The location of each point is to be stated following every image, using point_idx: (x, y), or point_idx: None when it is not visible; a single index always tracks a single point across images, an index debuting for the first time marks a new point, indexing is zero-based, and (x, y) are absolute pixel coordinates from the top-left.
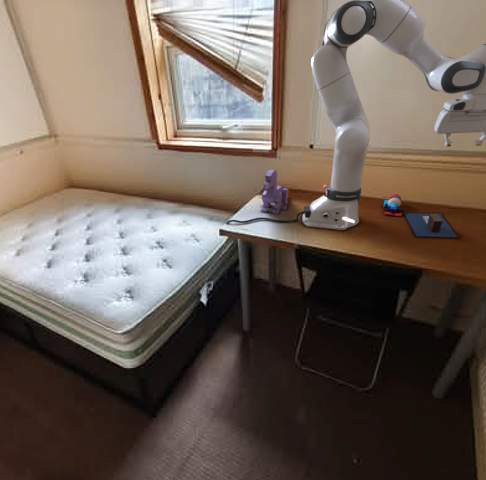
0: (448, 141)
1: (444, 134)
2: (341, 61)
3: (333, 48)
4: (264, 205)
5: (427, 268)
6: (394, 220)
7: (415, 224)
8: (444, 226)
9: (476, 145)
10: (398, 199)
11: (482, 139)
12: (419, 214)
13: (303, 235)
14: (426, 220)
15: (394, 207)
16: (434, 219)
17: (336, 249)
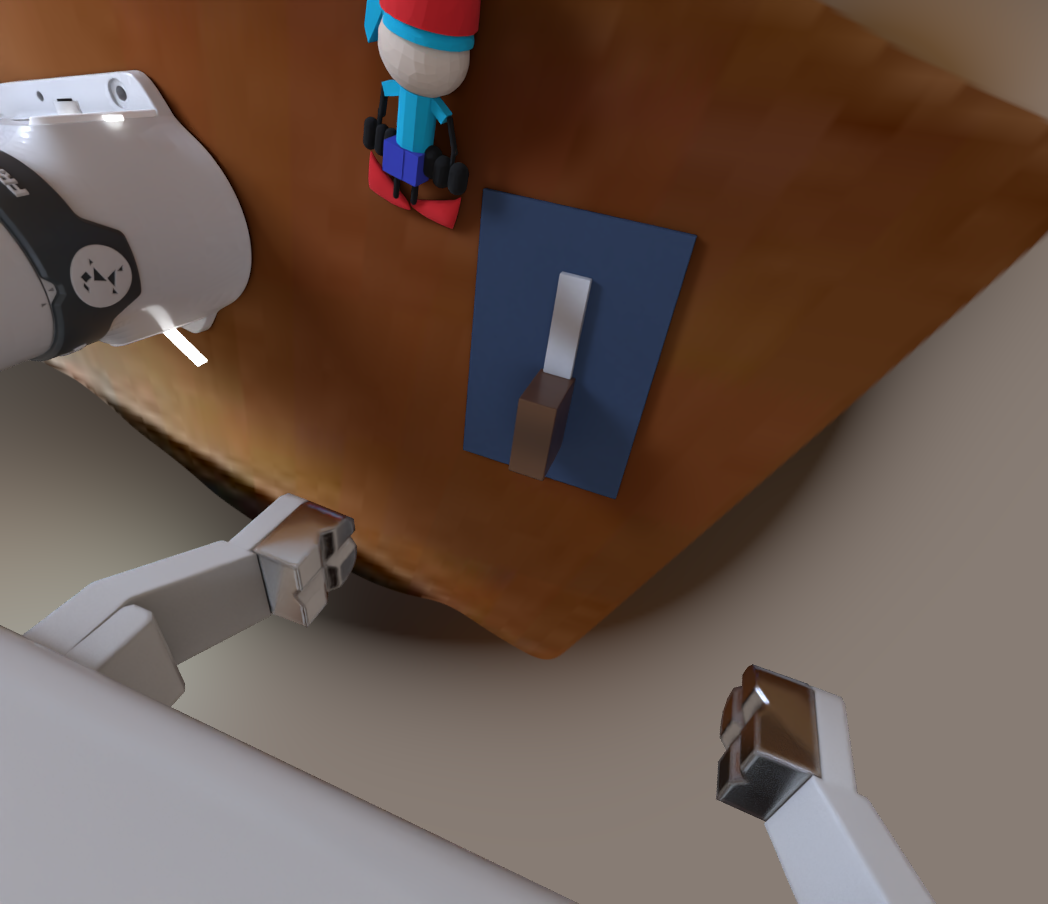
0: (257, 609)
1: (74, 622)
2: None
3: None
4: None
5: (437, 598)
6: (413, 268)
7: (492, 350)
8: (617, 402)
9: (728, 703)
10: (428, 64)
11: (784, 851)
12: (562, 225)
13: None
14: (553, 333)
15: (406, 160)
16: (514, 456)
17: (211, 452)
